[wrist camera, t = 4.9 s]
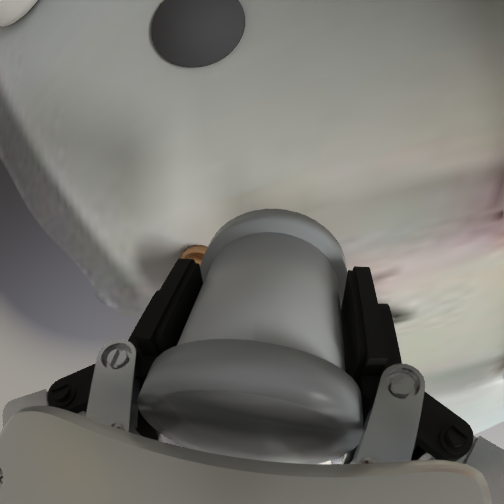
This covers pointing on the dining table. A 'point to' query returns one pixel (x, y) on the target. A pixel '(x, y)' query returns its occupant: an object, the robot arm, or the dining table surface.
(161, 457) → the robot arm
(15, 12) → the flower in vase
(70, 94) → the dining table surface
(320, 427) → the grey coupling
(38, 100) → the dining table surface
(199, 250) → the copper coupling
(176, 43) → the pad
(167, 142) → the dining table surface
